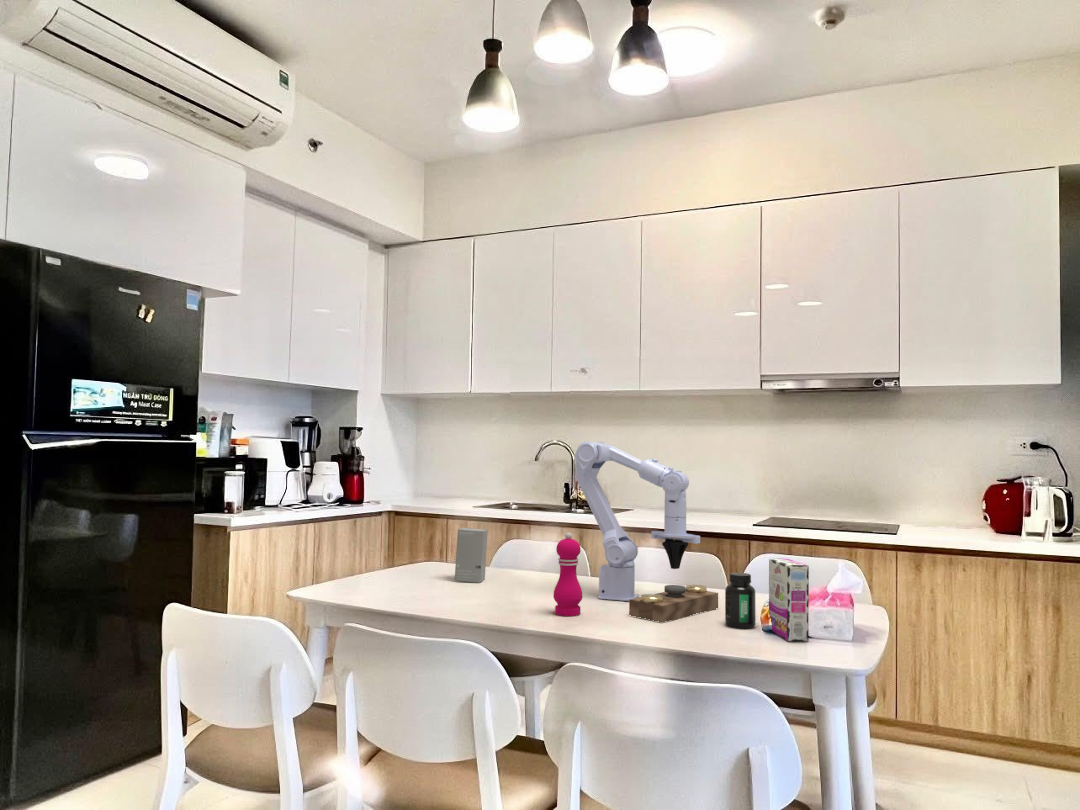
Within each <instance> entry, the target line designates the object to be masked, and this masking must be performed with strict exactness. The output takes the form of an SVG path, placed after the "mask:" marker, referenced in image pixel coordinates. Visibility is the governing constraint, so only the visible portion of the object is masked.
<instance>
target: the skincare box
mask: <svg viewBox="0 0 1080 810" xmlns="http://www.w3.org/2000/svg"><path fill="white" fill-rule="evenodd" d="M488 532H489V530H488V529H484V528H470V527H469V528H468V527H461V528H458V529H457V535H456V536H457V538H456V539H457V540H456V550H455V551H456V553H455V554H456V555H455V566H454V567H455V569H454V582H456V583H477V584H479V583H481V582H484V581H485V580H486V565H487V548H488Z"/></svg>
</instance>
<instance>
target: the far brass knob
mask: <svg viewBox="0 0 1080 810" xmlns="http://www.w3.org/2000/svg"><path fill="white" fill-rule="evenodd" d="M685 587H686V591H687V592H690V593H698V594H699V593H706V592H707V591H708V589H707V586H706V585H700V584H687V585H686V586H685Z"/></svg>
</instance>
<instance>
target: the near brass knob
mask: <svg viewBox="0 0 1080 810" xmlns="http://www.w3.org/2000/svg"><path fill="white" fill-rule="evenodd" d="M656 594H657V593H645V594H641V596H640V597H641V601H642V602H645V603H652V604H655V603H662V602H663V596H661V595H656Z"/></svg>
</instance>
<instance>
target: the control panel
mask: <svg viewBox="0 0 1080 810" xmlns="http://www.w3.org/2000/svg"><path fill="white" fill-rule="evenodd" d="M684 587H685V593H682V597H681V598H672V597H668V593H667V592H665V591H663V592H657V593H655V594H656V595H661V596H663V602H662V603H655V604H652V603H645V602H642V601H641V596H638V597H637V598H633V599H629V601H628V602H629V603H628V605H629V606H628V608H629V609H628V610H629V611H628V616H629V615H631V616H630V617H632V616H636V617H635V618H637V617H641V618H646V619H650V620H649V621H651V620H654V621H653V622H655V621H659V622H658V623H660V622H665V621H669V620H672V621H675V620H674V619H676V620H679V619H678V618H680V619H683V617H684V618H687V616H688V617H691V616H690V615H692V616H694V615H693V614H696V613H699V614H701V613H700V612H703V613H705V612H704V611H707V612H709V611H708V610H711V611H713V610H712V609H715V610H717V609H716V608H718V609H719V592H717V591H709V590H707V592H706V593H699V594H698V593H690V592H687V591H686V586H684ZM696 615H697V614H696ZM641 618H640V619H641ZM646 619H645V620H646ZM669 622H670V621H669ZM665 623H666V622H665Z"/></svg>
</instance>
